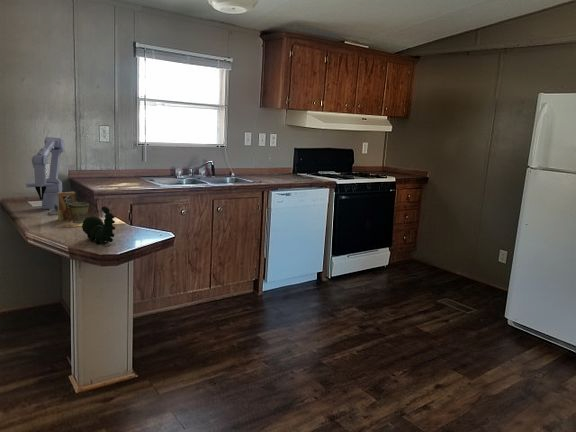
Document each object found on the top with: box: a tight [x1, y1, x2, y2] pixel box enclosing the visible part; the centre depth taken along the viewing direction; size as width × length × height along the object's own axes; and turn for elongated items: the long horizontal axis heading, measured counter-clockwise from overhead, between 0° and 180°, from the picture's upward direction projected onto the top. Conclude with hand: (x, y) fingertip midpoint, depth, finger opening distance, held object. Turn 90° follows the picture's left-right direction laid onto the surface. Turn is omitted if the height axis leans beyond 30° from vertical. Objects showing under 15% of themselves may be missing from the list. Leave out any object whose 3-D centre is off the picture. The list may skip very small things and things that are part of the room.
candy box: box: [57, 191, 77, 222], centre depth 258 cm, size 9×4×15 cm, turn 129°
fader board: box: [49, 209, 58, 216], centre depth 278 cm, size 20×8×2 cm, turn 117°
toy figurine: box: [81, 206, 116, 244], centre depth 217 cm, size 9×19×25 cm
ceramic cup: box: [69, 201, 90, 224], centre depth 256 cm, size 13×10×10 cm
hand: (41, 199), depth 270 cm, fingers closed
